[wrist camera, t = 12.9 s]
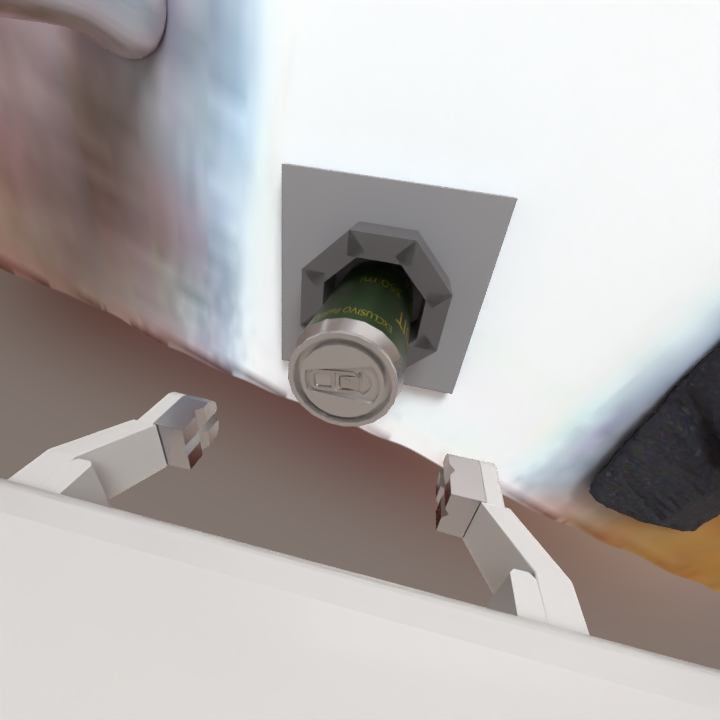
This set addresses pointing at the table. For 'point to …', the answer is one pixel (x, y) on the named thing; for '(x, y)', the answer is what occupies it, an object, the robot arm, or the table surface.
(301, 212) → the barrel holder
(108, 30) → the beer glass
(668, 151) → the table surface
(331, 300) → the beer can
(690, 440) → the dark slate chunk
